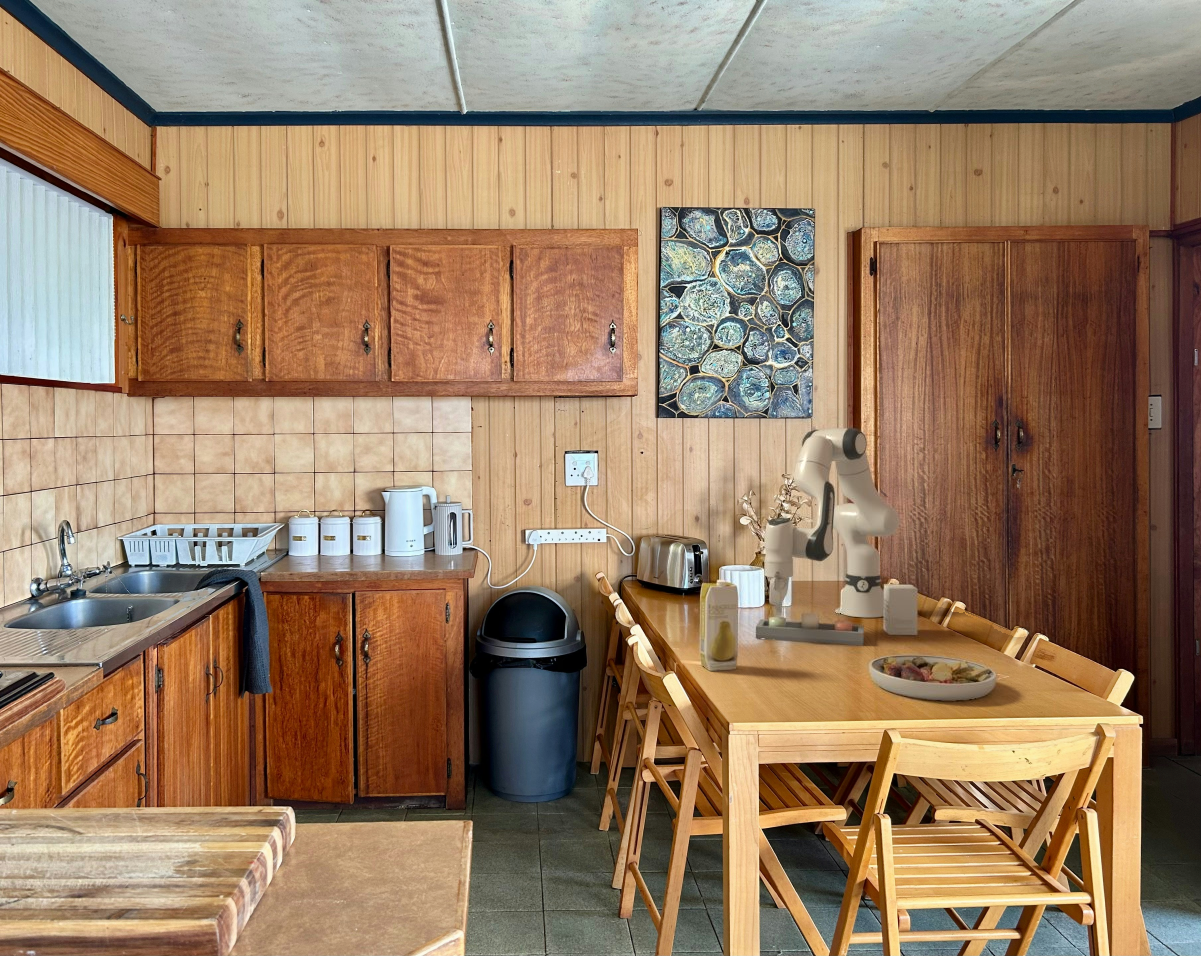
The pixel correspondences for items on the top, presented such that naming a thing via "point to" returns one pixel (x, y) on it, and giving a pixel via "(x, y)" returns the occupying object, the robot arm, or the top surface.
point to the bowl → (932, 677)
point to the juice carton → (719, 625)
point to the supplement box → (900, 609)
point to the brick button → (843, 626)
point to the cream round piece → (810, 621)
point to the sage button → (777, 622)
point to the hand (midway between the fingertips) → (778, 614)
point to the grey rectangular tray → (811, 633)
